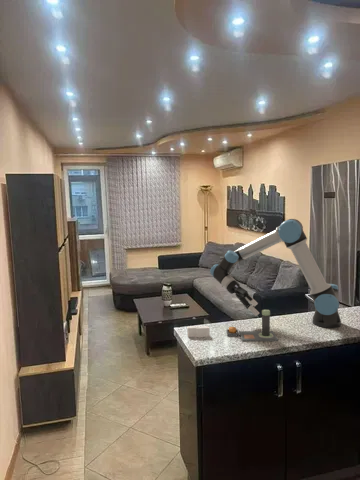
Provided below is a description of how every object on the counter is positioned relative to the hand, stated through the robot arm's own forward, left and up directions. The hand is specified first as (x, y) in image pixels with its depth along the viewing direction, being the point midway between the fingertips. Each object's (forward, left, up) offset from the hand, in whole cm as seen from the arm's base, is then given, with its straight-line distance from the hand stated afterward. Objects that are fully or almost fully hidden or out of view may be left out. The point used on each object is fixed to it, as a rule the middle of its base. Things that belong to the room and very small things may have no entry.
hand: (257, 309), depth 193 cm
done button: (+14, +4, -12) cm, 19 cm away
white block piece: (+33, +6, -13) cm, 36 cm away
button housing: (+14, +4, -12) cm, 19 cm away
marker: (-3, +8, -11) cm, 14 cm away
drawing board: (+1, +8, -12) cm, 15 cm away
